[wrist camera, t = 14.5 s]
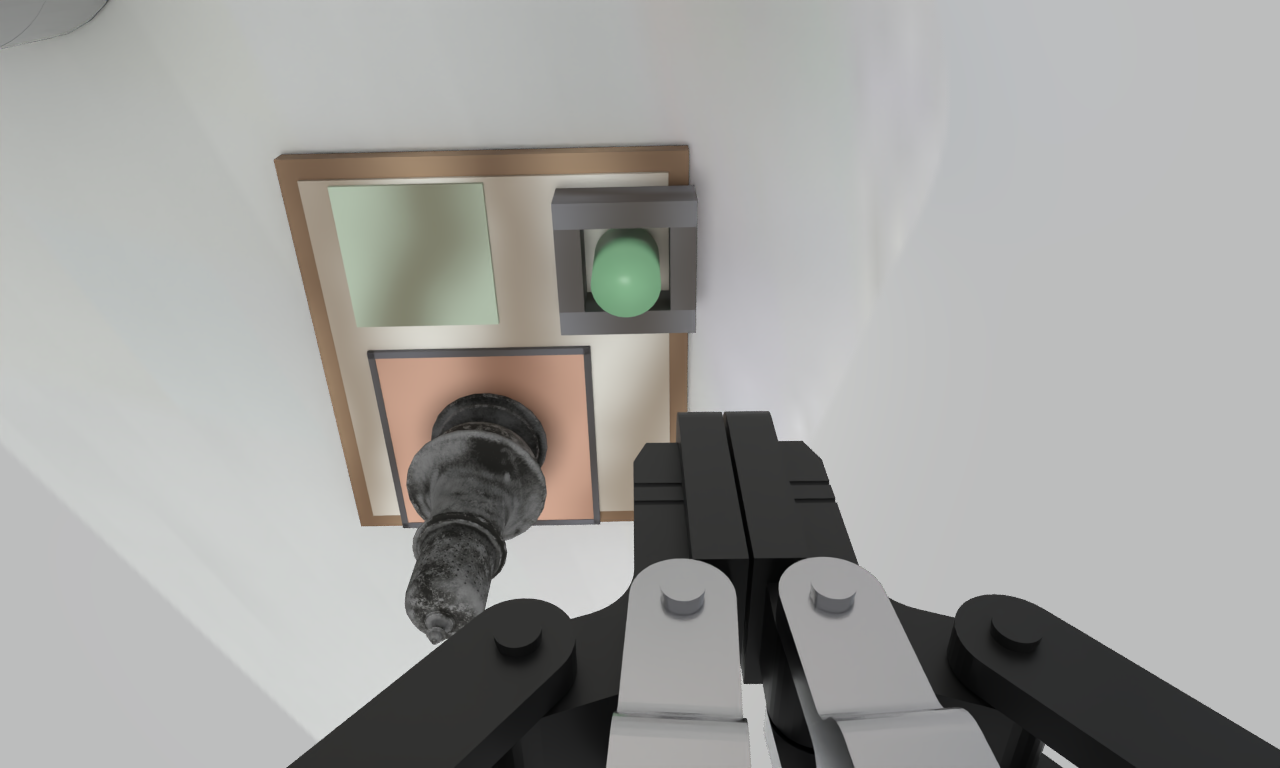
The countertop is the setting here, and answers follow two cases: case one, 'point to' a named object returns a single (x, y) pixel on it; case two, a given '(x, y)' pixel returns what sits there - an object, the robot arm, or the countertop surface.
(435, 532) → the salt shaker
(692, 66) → the countertop surface
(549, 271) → the picture board
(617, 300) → the button
